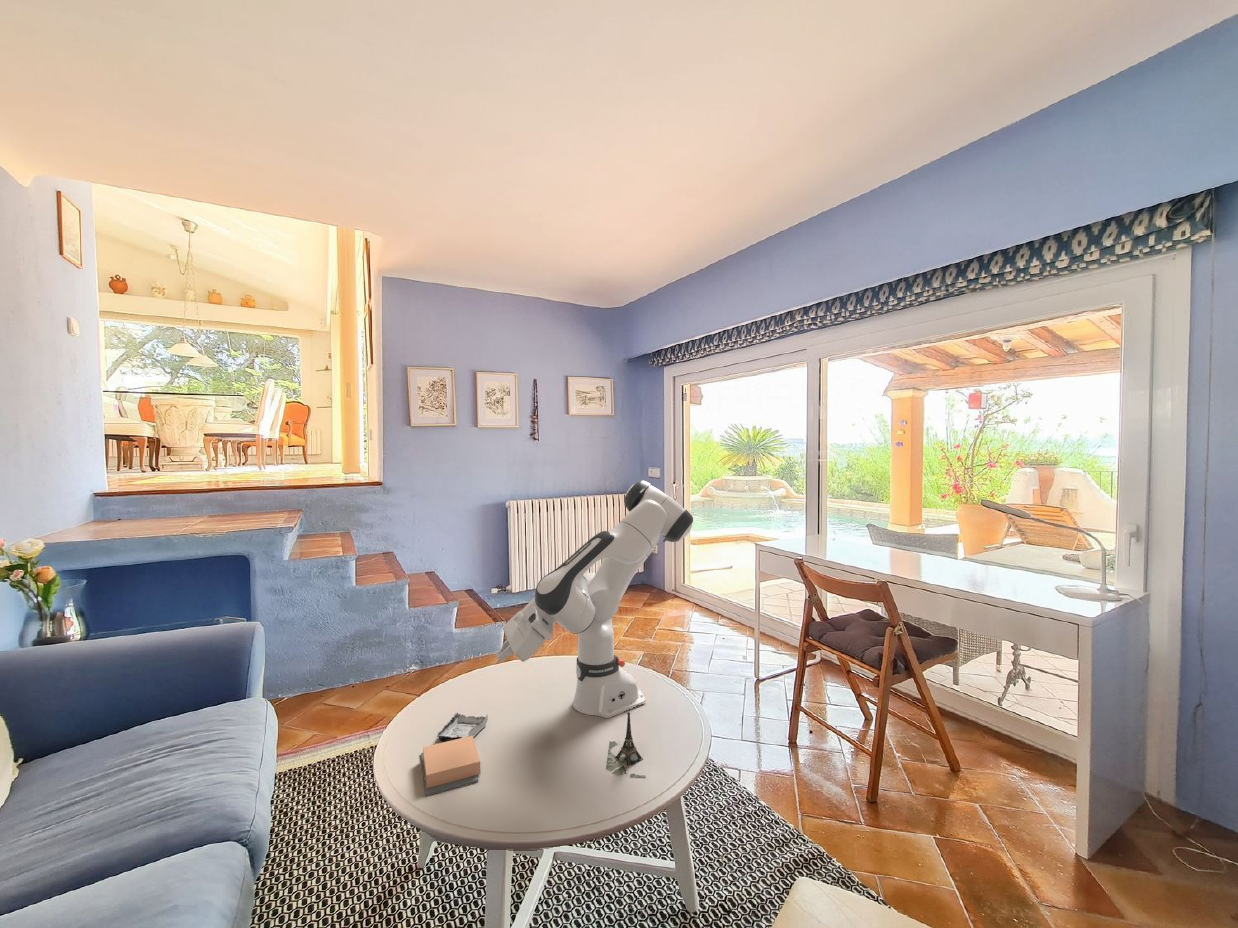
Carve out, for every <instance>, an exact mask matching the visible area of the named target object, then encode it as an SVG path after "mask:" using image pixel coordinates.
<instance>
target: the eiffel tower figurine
mask: <svg viewBox="0 0 1238 928" xmlns="http://www.w3.org/2000/svg"><path fill="white" fill-rule="evenodd" d="M626 721H627V723H626V732H625V733H626V734H625V738H624V741H623V745H622V746H621V747H620V750H619V751H618V753H617V755H615V754H613V753H612V751H611V750H612V749H613V748H614V747H616V746H618V743H617V742H616V741H614V740H613V741H612V740H609V743H608V751H607V759H606V765H605V770H606V771H607V772H609V773H611V774H612V775H614V776H623V775H628V774H629V773H628V772H627V769H629V768H632V767H633V766H635V765H637V764H638V763H640V762H642V761H643V760H644V758H643V757H642V756H641V755H640V753H639V751H638V750H637V747H636V745H635V743H634V740H633V739H634V738H633V736H632V728H631V725H632V724H631V713H630V711H628V712H627V720H626ZM626 768H627V769H626ZM646 777H647V775H644V774H643V775H642V774H641V775H639V774H636V773H633V772H632V773H630V774H629V778H630V779H632V778H639V779H640V778H641V779H642V778H644V779H645V778H646Z"/></svg>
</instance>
